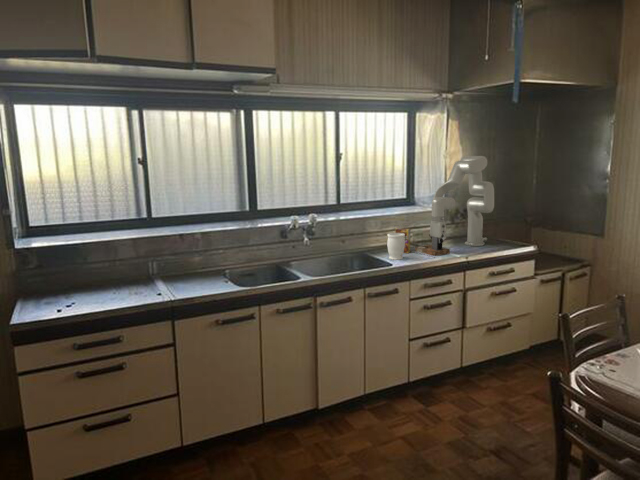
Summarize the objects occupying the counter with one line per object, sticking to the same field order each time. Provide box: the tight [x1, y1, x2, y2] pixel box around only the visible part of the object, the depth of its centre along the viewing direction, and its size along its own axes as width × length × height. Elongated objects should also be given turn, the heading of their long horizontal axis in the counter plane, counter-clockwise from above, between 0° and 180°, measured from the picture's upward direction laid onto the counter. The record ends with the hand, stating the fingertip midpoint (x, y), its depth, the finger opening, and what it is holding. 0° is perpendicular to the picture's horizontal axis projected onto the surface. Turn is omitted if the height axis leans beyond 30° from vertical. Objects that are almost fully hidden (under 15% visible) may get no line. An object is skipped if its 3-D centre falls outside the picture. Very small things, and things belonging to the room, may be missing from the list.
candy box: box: [394, 227, 411, 254], centre depth 309 cm, size 9×4×15 cm, turn 60°
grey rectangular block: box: [432, 237, 442, 251], centre depth 299 cm, size 4×4×11 cm
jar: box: [386, 232, 405, 261], centre depth 293 cm, size 11×10×15 cm
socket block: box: [414, 244, 451, 259], centre depth 303 cm, size 12×18×4 cm
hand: (437, 248), depth 299 cm, fingers closed on grey rectangular block, 4 cm apart
